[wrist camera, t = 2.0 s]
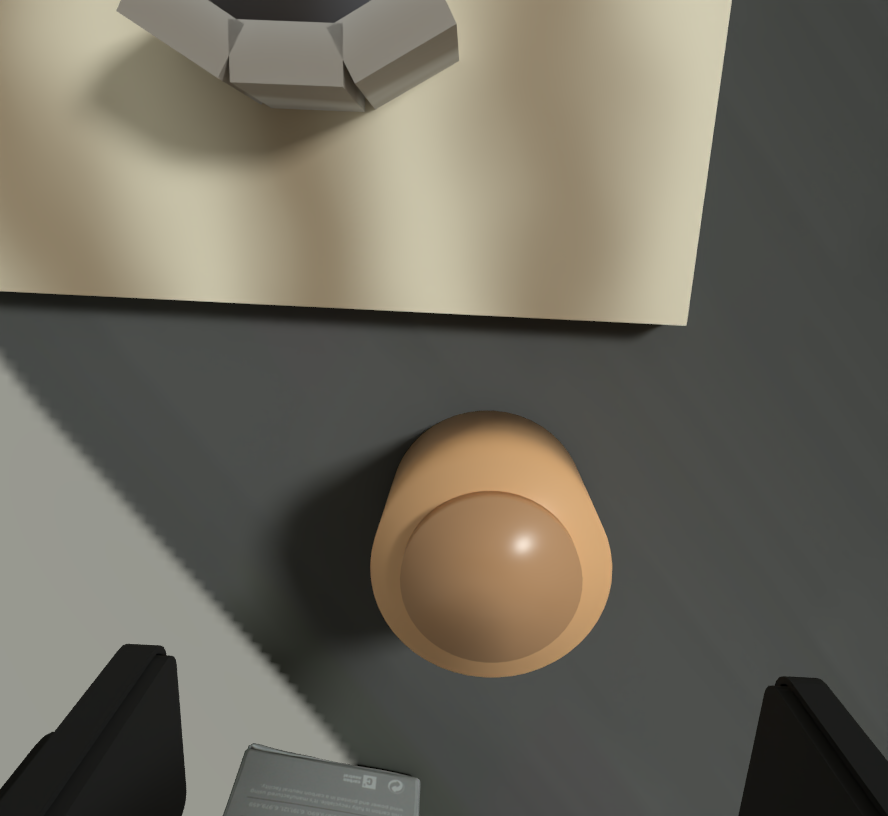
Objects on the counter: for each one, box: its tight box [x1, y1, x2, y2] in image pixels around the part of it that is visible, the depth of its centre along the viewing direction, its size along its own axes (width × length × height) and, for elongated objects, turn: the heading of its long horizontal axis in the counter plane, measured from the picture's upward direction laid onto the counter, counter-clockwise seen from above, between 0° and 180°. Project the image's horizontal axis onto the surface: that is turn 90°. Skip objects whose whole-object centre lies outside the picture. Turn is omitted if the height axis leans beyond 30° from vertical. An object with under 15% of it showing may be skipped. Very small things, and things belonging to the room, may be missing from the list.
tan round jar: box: [370, 411, 612, 677], centre depth 18 cm, size 6×6×5 cm
